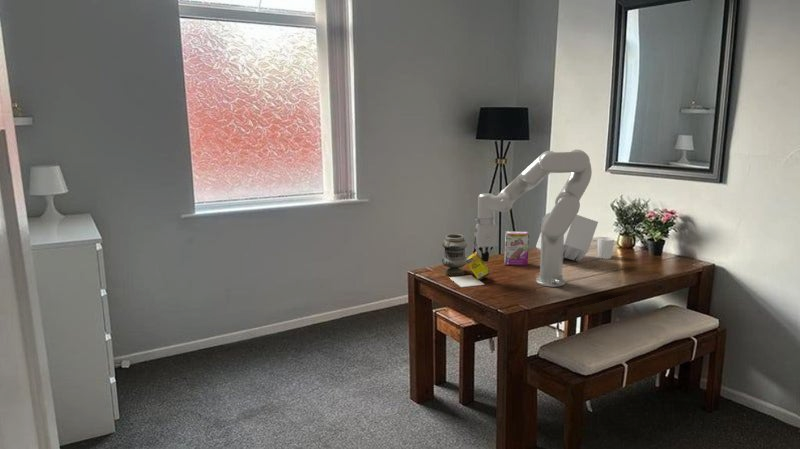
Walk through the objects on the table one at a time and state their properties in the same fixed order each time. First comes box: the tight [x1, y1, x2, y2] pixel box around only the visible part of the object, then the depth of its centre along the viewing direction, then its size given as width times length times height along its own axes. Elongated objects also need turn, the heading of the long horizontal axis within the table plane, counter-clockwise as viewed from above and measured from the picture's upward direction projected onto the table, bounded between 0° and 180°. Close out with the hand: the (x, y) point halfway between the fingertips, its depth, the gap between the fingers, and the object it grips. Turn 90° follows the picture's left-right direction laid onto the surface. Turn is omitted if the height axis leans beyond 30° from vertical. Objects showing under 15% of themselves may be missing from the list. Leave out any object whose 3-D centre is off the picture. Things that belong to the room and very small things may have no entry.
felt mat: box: [449, 274, 485, 288], centre depth 243 cm, size 14×11×1 cm
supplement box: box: [466, 251, 490, 281], centre depth 245 cm, size 6×6×11 cm
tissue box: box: [535, 214, 599, 263], centre depth 273 cm, size 20×16×25 cm
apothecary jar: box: [441, 233, 468, 276], centre depth 255 cm, size 12×12×18 cm
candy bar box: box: [504, 231, 530, 267], centre depth 267 cm, size 11×5×16 cm, turn 84°
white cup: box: [596, 236, 615, 260], centre depth 278 cm, size 8×8×10 cm
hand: (484, 260), depth 244 cm, fingers closed
